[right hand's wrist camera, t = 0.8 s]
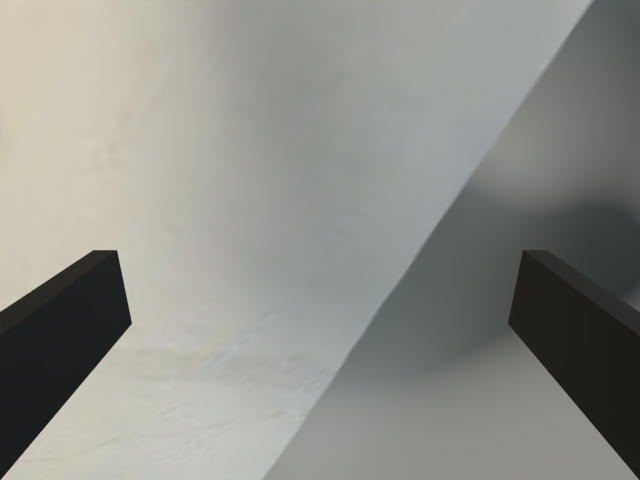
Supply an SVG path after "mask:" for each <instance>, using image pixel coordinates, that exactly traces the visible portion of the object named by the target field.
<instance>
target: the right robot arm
mask: <svg viewBox="0 0 640 480" xmlns="http://www.w3.org/2000/svg"><path fill="white" fill-rule="evenodd" d="M131 324H132V321H131V317H130V312H129V307H128V302H127V297H126V292H125V287H124V282H123V277H122V272H121V268H120V263H119V258H118V253H117V250H93V251H92V252H90V253H89V254H87V255H86V256H84V257H83V258H81V259H79V260H78V261H76V262H75V263H73V264H72V265H70V266H69V267H67V268H66V269H64V270H63V271H61V272H60V273H58V274H57V275H55V276H54V277H52V278H51V279H49V280H48V281H46V282H45V283H43V284H42V285H40V286H39V287H37V288H36V289H34V290H33V291H31V292H30V293H28V294H27V295H25V296H24V297H22V298H21V299H19V300H18V301H16V302H15V303H13V304H12V305H10V306H9V307H7V308H6V309H4V310H3V311H1V312H0V480H1V479H2V478H3V476H4V475H5V474H6V473H7V472H8V470H9V469H10V468H11V467H12V466H13V464H14V463H15V462H16V461H17V460H18V458H19V457H20V456H21V455H22V454H23V453H24V451H25V450H26V449H27V448H28V447H29V445H30V444H31V443H32V442H33V441H34V439H35V438H36V437H37V436H38V435H39V434H40V432H41V431H42V430H43V429H44V428H45V426H46V425H47V424H48V423H49V422H50V420H51V419H52V418H53V417H54V416H55V414H56V413H57V412H58V411H59V410H60V409H61V407H62V406H63V405H64V404H65V403H66V401H67V400H68V399H69V398H70V397H71V395H72V394H73V393H74V392H75V391H76V390H77V388H78V387H79V386H80V385H81V384H82V382H83V381H84V380H85V379H86V378H87V376H88V375H89V374H90V373H91V372H92V370H93V369H94V368H95V367H96V366H97V365H98V363H99V362H100V361H101V360H102V359H103V357H104V356H105V355H106V354H107V353H108V351H109V350H110V349H111V348H112V347H113V346H114V344H115V343H116V342H117V341H118V340H119V338H120V337H121V336H122V335H123V334H124V332H125V331H126V330H127V329H128V328H129V326H130V325H131ZM508 324H509V325H510V326H511V328H512V329H513V330H514V331H515V332H516V334H517V335H518V336H519V337H520V338H521V340H522V341H523V342H524V343H525V344H526V346H527V347H528V348H529V349H530V350H531V351H532V353H533V354H534V355H535V356H536V357H537V359H538V360H539V361H540V362H541V363H542V365H543V366H544V367H545V368H546V369H547V370H548V372H549V373H550V374H551V375H552V376H553V378H554V379H555V380H556V381H557V382H558V384H559V385H560V386H561V387H562V388H563V390H564V391H565V392H566V393H567V394H568V395H569V397H570V398H571V399H572V400H573V401H574V403H575V404H576V405H577V406H578V407H579V409H580V410H581V411H582V412H583V413H584V414H585V416H586V417H587V418H588V419H589V420H590V422H591V423H592V424H593V425H594V426H595V428H596V429H597V430H598V431H599V432H600V433H601V435H602V436H603V437H604V438H605V439H606V441H607V442H608V443H609V444H610V445H611V447H612V448H613V449H614V450H615V451H616V452H617V454H618V455H619V456H620V457H621V458H622V460H623V461H624V462H625V463H626V464H627V466H628V467H629V468H630V469H631V470H632V472H633V473H634V474H635V475H636V476H637V477H638V479H639V480H640V312H639V311H637V310H636V309H634V308H633V307H631V306H630V305H628V304H627V303H625V302H624V301H622V300H621V299H619V298H618V297H616V296H615V295H613V294H612V293H610V292H609V291H607V290H606V289H604V288H603V287H601V286H600V285H598V284H597V283H595V282H594V281H592V280H591V279H589V278H588V277H586V276H585V275H583V274H582V273H580V272H579V271H577V270H576V269H574V268H573V267H571V266H569V265H568V264H567V263H565V262H564V261H562V260H560V259H559V258H557V257H556V256H554V255H553V254H551V253H550V252H548V251H547V250H523V253H522V258H521V263H520V268H519V272H518V277H517V282H516V287H515V292H514V297H513V302H512V307H511V312H510V317H509V322H508Z"/></svg>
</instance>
